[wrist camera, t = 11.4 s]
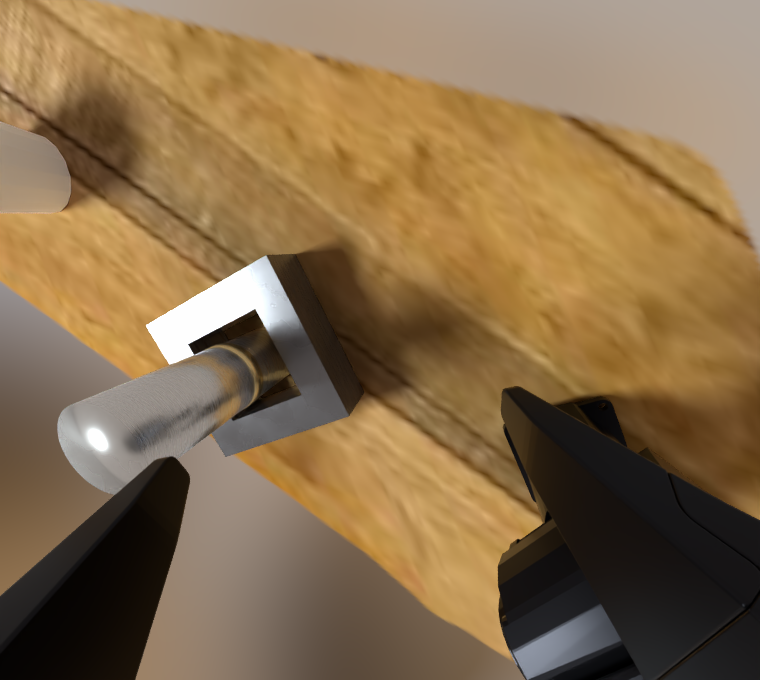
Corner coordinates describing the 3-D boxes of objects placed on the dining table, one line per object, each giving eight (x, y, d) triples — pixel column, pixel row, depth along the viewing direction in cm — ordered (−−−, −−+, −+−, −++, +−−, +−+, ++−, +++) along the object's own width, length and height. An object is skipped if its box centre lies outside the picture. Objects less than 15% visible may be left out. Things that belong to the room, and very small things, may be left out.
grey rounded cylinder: (309, 352, 23) (161, 457, 12) (278, 388, 25) (121, 513, 13) (266, 313, 23) (75, 379, 12) (238, 351, 25) (45, 444, 13)
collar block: (364, 392, 23) (349, 416, 20) (253, 431, 27) (225, 456, 23) (295, 254, 21) (266, 255, 18) (186, 315, 25) (146, 325, 22)
